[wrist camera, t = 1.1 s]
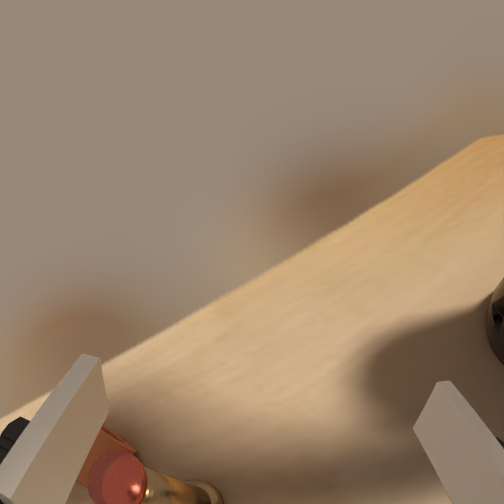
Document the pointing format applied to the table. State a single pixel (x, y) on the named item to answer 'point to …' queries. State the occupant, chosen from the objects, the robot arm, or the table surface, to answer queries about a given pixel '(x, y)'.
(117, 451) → the valve
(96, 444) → the orange holed part
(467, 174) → the table surface
